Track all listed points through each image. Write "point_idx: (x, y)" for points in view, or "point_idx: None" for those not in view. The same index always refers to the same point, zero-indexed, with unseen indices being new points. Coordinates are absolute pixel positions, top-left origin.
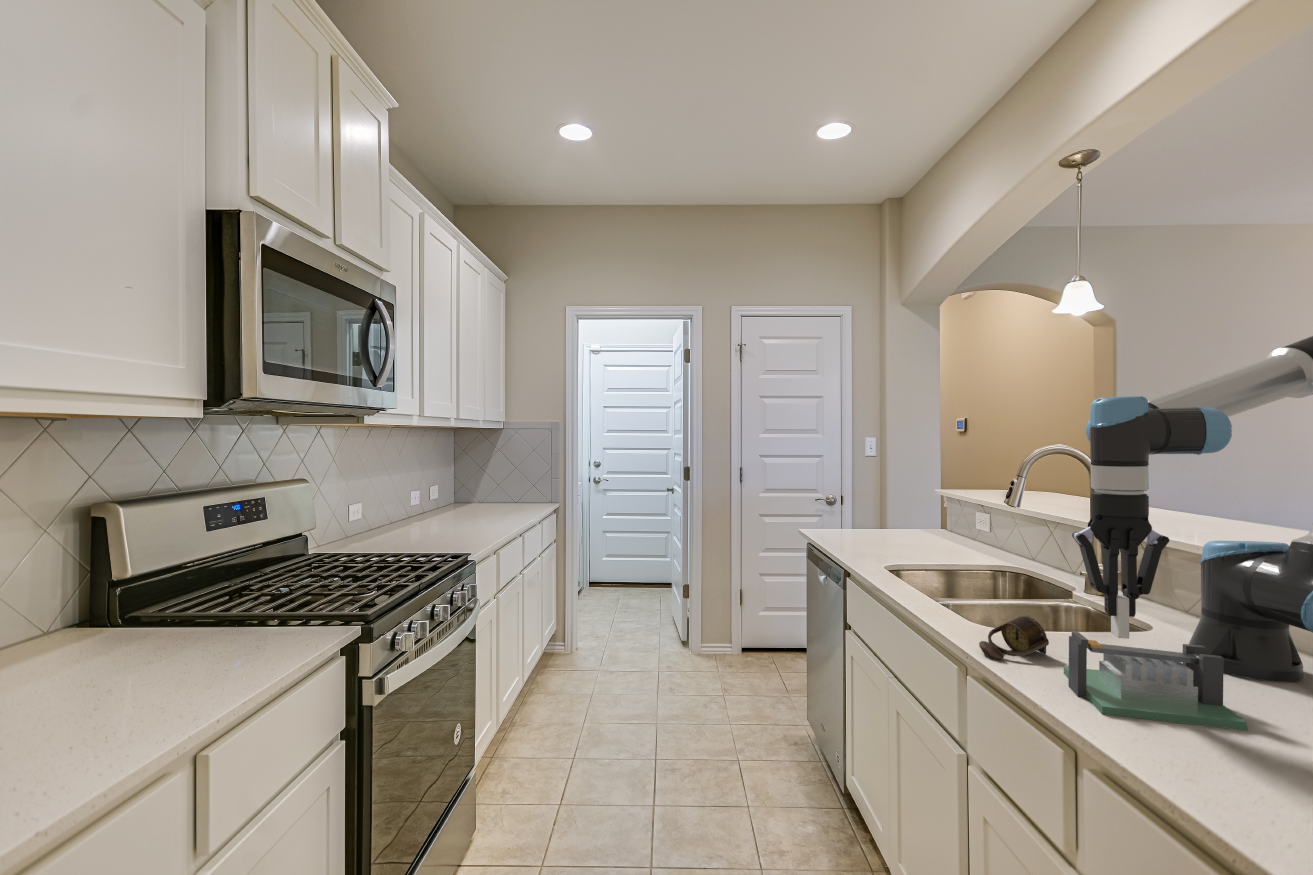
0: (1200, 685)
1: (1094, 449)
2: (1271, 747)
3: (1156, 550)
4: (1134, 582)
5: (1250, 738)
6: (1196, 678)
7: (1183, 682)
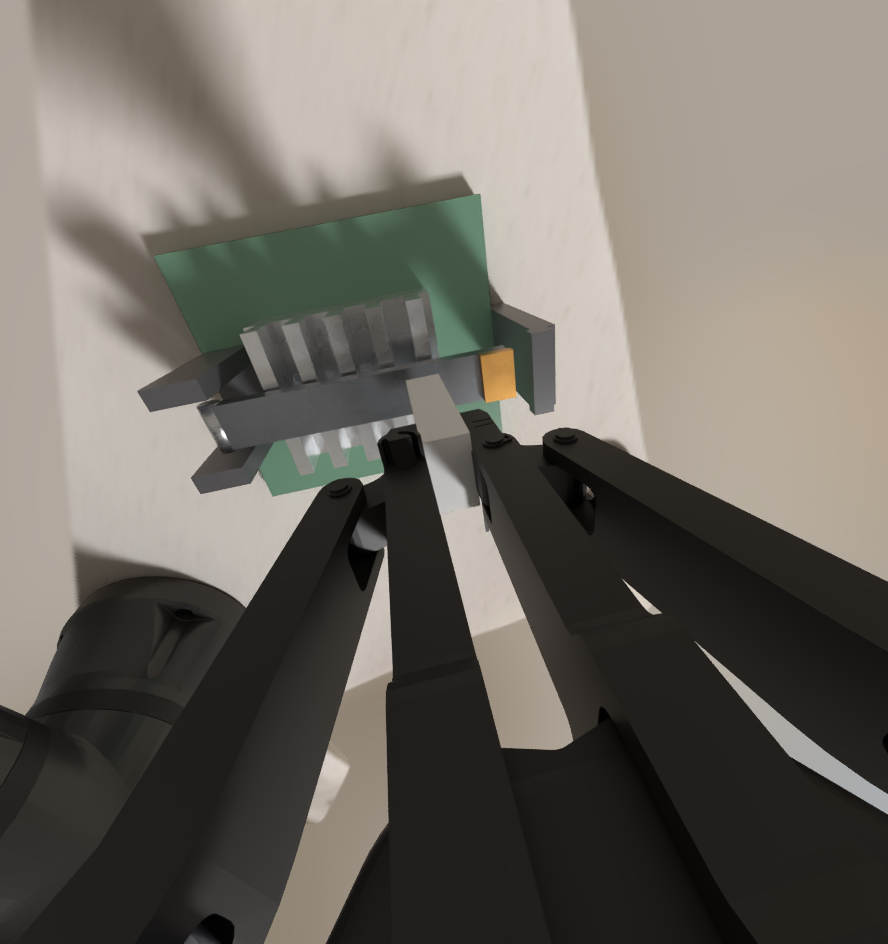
0: (237, 364)
1: None
2: (109, 147)
3: (163, 832)
4: (399, 505)
5: (157, 196)
6: None
7: (275, 341)
